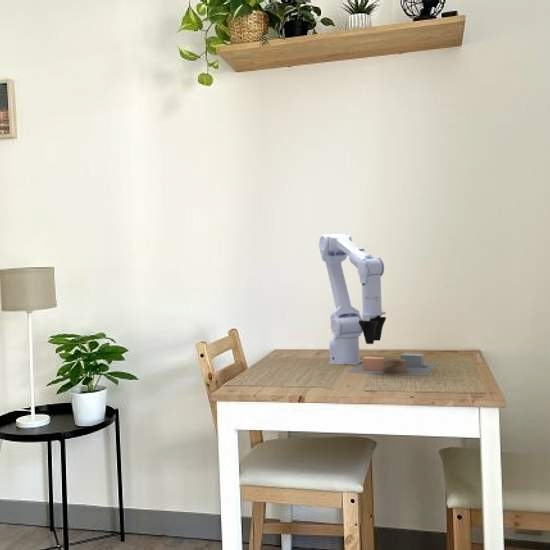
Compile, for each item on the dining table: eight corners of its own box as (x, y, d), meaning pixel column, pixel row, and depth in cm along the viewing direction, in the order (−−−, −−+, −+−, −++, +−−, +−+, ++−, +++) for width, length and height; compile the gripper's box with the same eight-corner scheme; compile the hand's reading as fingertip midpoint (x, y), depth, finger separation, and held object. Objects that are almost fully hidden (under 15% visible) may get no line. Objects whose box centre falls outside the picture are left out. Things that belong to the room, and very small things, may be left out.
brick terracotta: (362, 370, 191) (362, 358, 191) (365, 368, 194) (365, 356, 194) (383, 370, 188) (382, 359, 188) (385, 368, 191) (385, 357, 191)
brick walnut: (384, 373, 184) (383, 361, 184) (383, 371, 187) (382, 359, 187) (406, 373, 184) (405, 360, 183) (404, 371, 187) (404, 359, 187)
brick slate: (401, 366, 194) (400, 355, 194) (403, 364, 197) (402, 353, 197) (421, 367, 191) (421, 355, 191) (423, 365, 194) (423, 354, 194)
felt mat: (346, 373, 189) (346, 372, 189) (364, 362, 207) (364, 361, 207) (426, 377, 179) (426, 375, 179) (438, 364, 197) (438, 363, 197)
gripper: (378, 299, 182) (379, 345, 183) (390, 295, 195) (391, 339, 196) (355, 299, 185) (356, 345, 185) (368, 296, 198) (370, 338, 199)
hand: (373, 342), depth 191 cm, fingers open, 7 cm apart
